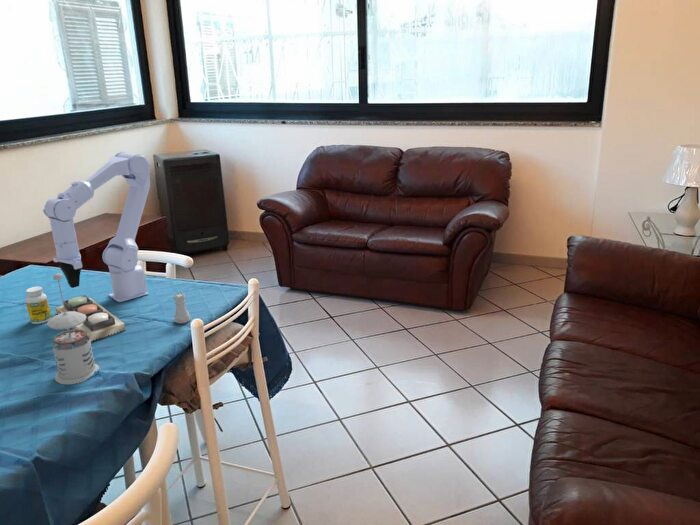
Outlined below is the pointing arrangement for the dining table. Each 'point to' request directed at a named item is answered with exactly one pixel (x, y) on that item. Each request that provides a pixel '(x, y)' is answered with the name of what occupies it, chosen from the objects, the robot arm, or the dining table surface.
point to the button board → (98, 328)
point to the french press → (77, 359)
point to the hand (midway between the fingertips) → (74, 286)
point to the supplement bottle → (37, 305)
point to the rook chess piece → (181, 309)
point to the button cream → (97, 317)
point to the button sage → (77, 301)
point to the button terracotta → (87, 308)
